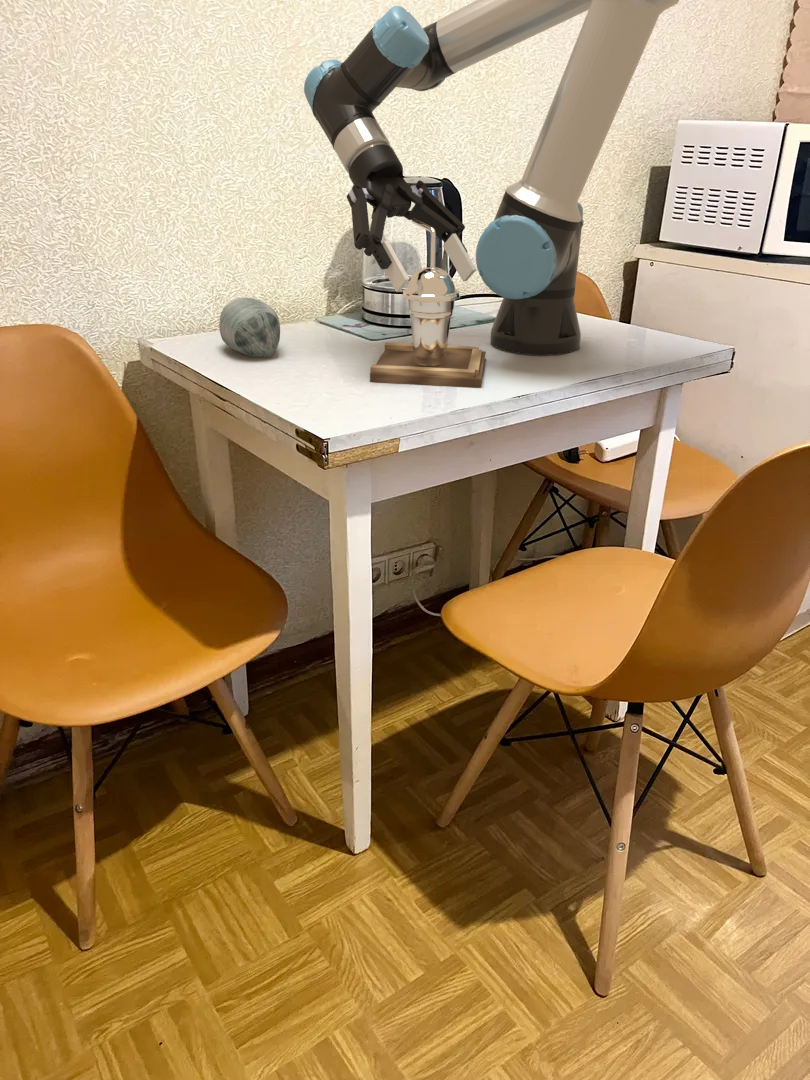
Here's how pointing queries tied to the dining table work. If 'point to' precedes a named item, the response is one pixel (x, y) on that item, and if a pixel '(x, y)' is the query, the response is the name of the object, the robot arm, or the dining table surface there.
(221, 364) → the dining table surface
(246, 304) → the spool
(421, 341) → the cup with straw
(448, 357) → the brown flat square tray
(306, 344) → the dining table surface
